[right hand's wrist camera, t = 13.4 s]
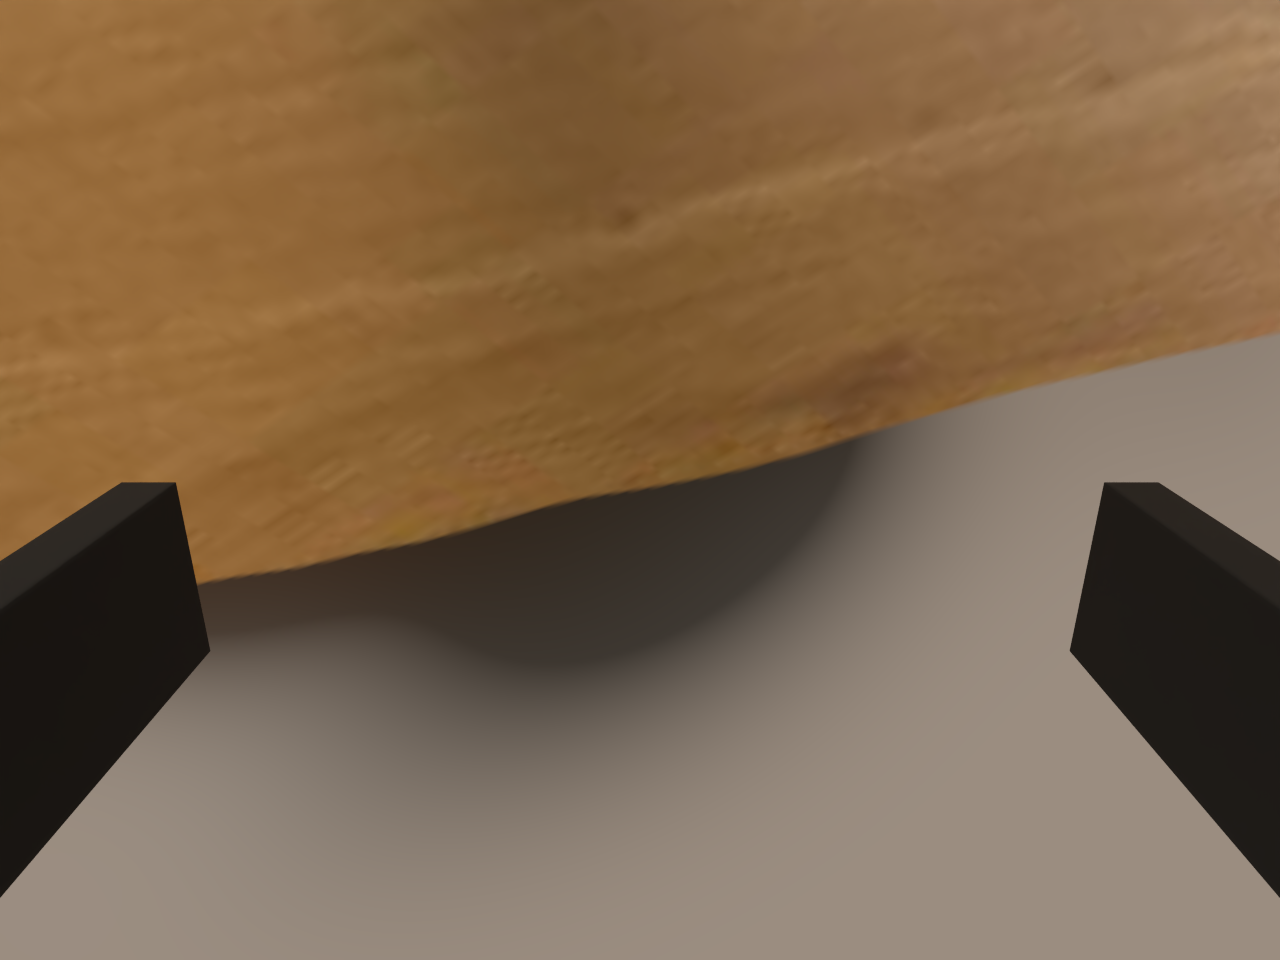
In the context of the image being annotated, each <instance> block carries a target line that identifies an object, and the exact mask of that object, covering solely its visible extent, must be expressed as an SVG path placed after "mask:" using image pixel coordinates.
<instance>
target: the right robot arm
mask: <svg viewBox="0 0 1280 960" xmlns="http://www.w3.org/2000/svg"><path fill="white" fill-rule="evenodd" d="M209 652H210V647H209V643H208V638H207V633H206V628H205V623H204V618H203V613H202V608H201V604H200V599H199V594H198V589H197V584H196V579H195V574H194V569H193V564H192V560H191V555H190V550H189V545H188V540H187V535H186V530H185V525H184V521H183V516H182V511H181V506H180V501H179V496H178V491H177V486H176V483H120V484H118V485H117V486H115V487H114V488H112V489H111V490H109V491H108V492H106V493H105V494H103V495H102V496H100V497H98V498H97V499H95V500H94V501H92V502H91V503H89V504H88V505H86V506H85V507H83V508H81V509H80V510H78V511H77V512H75V513H74V514H72V515H71V516H69V517H68V518H66V519H65V520H63V521H61V522H60V523H58V524H57V525H55V526H54V527H52V528H51V529H49V530H48V531H46V532H45V533H43V534H41V535H40V536H38V537H37V538H35V539H34V540H32V541H31V542H29V543H28V544H26V545H24V546H23V547H21V548H20V549H18V550H17V551H15V552H14V553H12V554H11V555H9V556H8V557H6V558H4V559H3V560H1V561H0V897H1V896H2V895H3V894H4V893H5V891H6V890H7V889H8V888H9V887H10V885H11V884H12V883H13V882H14V881H15V880H16V878H17V877H18V876H19V875H20V874H21V873H22V871H23V870H24V869H25V868H26V867H27V866H28V864H29V863H30V862H31V861H32V860H33V859H34V857H35V856H36V855H37V854H38V853H39V851H40V850H41V849H42V848H43V847H44V845H45V844H46V843H47V842H48V841H49V840H50V839H51V837H52V836H53V835H54V834H55V833H56V831H57V830H58V829H59V828H60V827H61V826H62V824H63V823H64V822H65V821H66V820H67V819H68V817H69V816H70V815H71V814H72V813H73V811H74V810H75V809H76V808H77V807H78V806H79V804H80V803H81V802H82V801H83V800H84V799H85V797H86V796H87V795H88V794H89V793H90V791H91V790H92V789H93V788H94V787H95V786H96V784H97V783H98V782H99V781H100V780H101V779H102V777H103V776H104V775H105V774H106V773H107V772H108V770H109V769H110V768H111V767H112V766H113V765H114V763H115V762H116V761H117V760H118V759H119V757H120V756H121V755H122V754H123V753H124V752H125V750H126V749H127V748H128V747H129V746H130V745H131V743H132V742H133V741H134V740H135V739H136V738H137V736H138V735H139V734H140V733H141V732H142V730H143V729H144V728H145V727H146V726H147V725H148V723H149V722H150V721H151V720H152V719H153V718H154V716H155V715H156V714H157V713H158V712H159V710H160V709H161V708H162V707H163V706H164V705H165V703H166V702H167V701H168V700H169V699H170V698H171V696H172V695H173V694H174V693H175V692H176V690H177V689H178V688H179V687H180V686H181V685H182V683H183V682H184V681H185V680H186V679H187V678H188V676H189V675H190V674H191V673H192V672H193V671H194V669H195V668H196V667H197V666H198V665H199V663H200V662H201V661H202V660H203V659H204V658H205V656H206V655H207V654H208V653H209ZM1070 652H1071V653H1072V654H1073V655H1074V656H1075V658H1076V659H1077V660H1078V661H1079V662H1080V663H1081V665H1082V666H1083V667H1084V668H1085V669H1086V670H1087V672H1088V673H1089V674H1090V675H1091V676H1092V678H1093V679H1094V680H1095V681H1096V682H1097V683H1098V685H1099V686H1100V687H1101V688H1102V689H1103V691H1104V692H1105V693H1106V694H1107V695H1108V696H1109V698H1110V699H1111V700H1112V701H1113V702H1114V703H1115V705H1116V706H1117V707H1118V708H1119V709H1120V710H1121V712H1122V713H1123V714H1124V715H1125V716H1126V717H1127V719H1128V720H1129V721H1130V722H1131V723H1132V725H1133V726H1134V727H1135V728H1136V729H1137V730H1138V732H1139V733H1140V734H1141V735H1142V736H1143V738H1144V739H1145V740H1146V741H1147V742H1148V743H1149V745H1150V746H1151V747H1152V748H1153V749H1154V750H1155V752H1156V753H1157V754H1158V755H1159V756H1160V757H1161V759H1162V760H1163V761H1164V762H1165V763H1166V765H1167V766H1168V767H1169V768H1170V769H1171V770H1172V771H1173V773H1174V774H1175V775H1176V776H1177V777H1178V779H1179V780H1180V781H1181V782H1182V783H1183V784H1184V786H1185V787H1186V788H1187V789H1188V790H1189V792H1190V793H1191V794H1192V795H1193V796H1194V797H1195V799H1196V800H1197V801H1198V802H1199V803H1200V804H1201V806H1202V807H1203V808H1204V809H1205V810H1206V811H1207V813H1208V814H1209V815H1210V816H1211V817H1212V819H1213V820H1214V821H1215V822H1216V823H1217V824H1218V826H1219V827H1220V828H1221V829H1222V830H1223V832H1224V833H1225V834H1226V835H1227V836H1228V837H1229V839H1230V840H1231V841H1232V842H1233V843H1234V844H1235V846H1236V847H1237V848H1238V849H1239V850H1240V851H1241V853H1242V854H1243V855H1244V856H1245V857H1246V858H1247V860H1248V861H1249V862H1250V863H1251V864H1252V866H1253V867H1254V868H1255V869H1256V870H1257V871H1258V873H1259V874H1260V875H1261V876H1262V877H1263V879H1264V880H1265V881H1266V882H1267V883H1268V884H1269V886H1270V887H1271V888H1272V889H1273V890H1274V891H1275V893H1276V894H1277V895H1278V896H1279V897H1280V561H1279V560H1277V559H1276V558H1274V557H1272V556H1271V555H1269V554H1268V553H1266V552H1265V551H1263V550H1262V549H1260V548H1259V547H1257V546H1255V545H1254V544H1252V543H1251V542H1249V541H1248V540H1246V539H1245V538H1243V537H1242V536H1240V535H1239V534H1237V533H1235V532H1234V531H1232V530H1231V529H1229V528H1228V527H1226V526H1225V525H1223V524H1222V523H1220V522H1219V521H1217V520H1215V519H1214V518H1212V517H1211V516H1209V515H1208V514H1206V513H1205V512H1203V511H1201V510H1200V509H1199V508H1197V507H1195V506H1194V505H1192V504H1191V503H1189V502H1188V501H1186V500H1185V499H1183V498H1182V497H1180V496H1178V495H1177V494H1175V493H1174V492H1172V491H1171V490H1169V489H1168V488H1166V487H1165V486H1163V485H1162V484H1160V483H1104V486H1103V491H1102V496H1101V501H1100V506H1099V511H1098V516H1097V521H1096V525H1095V530H1094V535H1093V540H1092V545H1091V550H1090V555H1089V560H1088V565H1087V569H1086V574H1085V579H1084V584H1083V589H1082V594H1081V599H1080V603H1079V609H1078V613H1077V618H1076V623H1075V628H1074V633H1073V638H1072V643H1071V647H1070Z"/></svg>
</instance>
